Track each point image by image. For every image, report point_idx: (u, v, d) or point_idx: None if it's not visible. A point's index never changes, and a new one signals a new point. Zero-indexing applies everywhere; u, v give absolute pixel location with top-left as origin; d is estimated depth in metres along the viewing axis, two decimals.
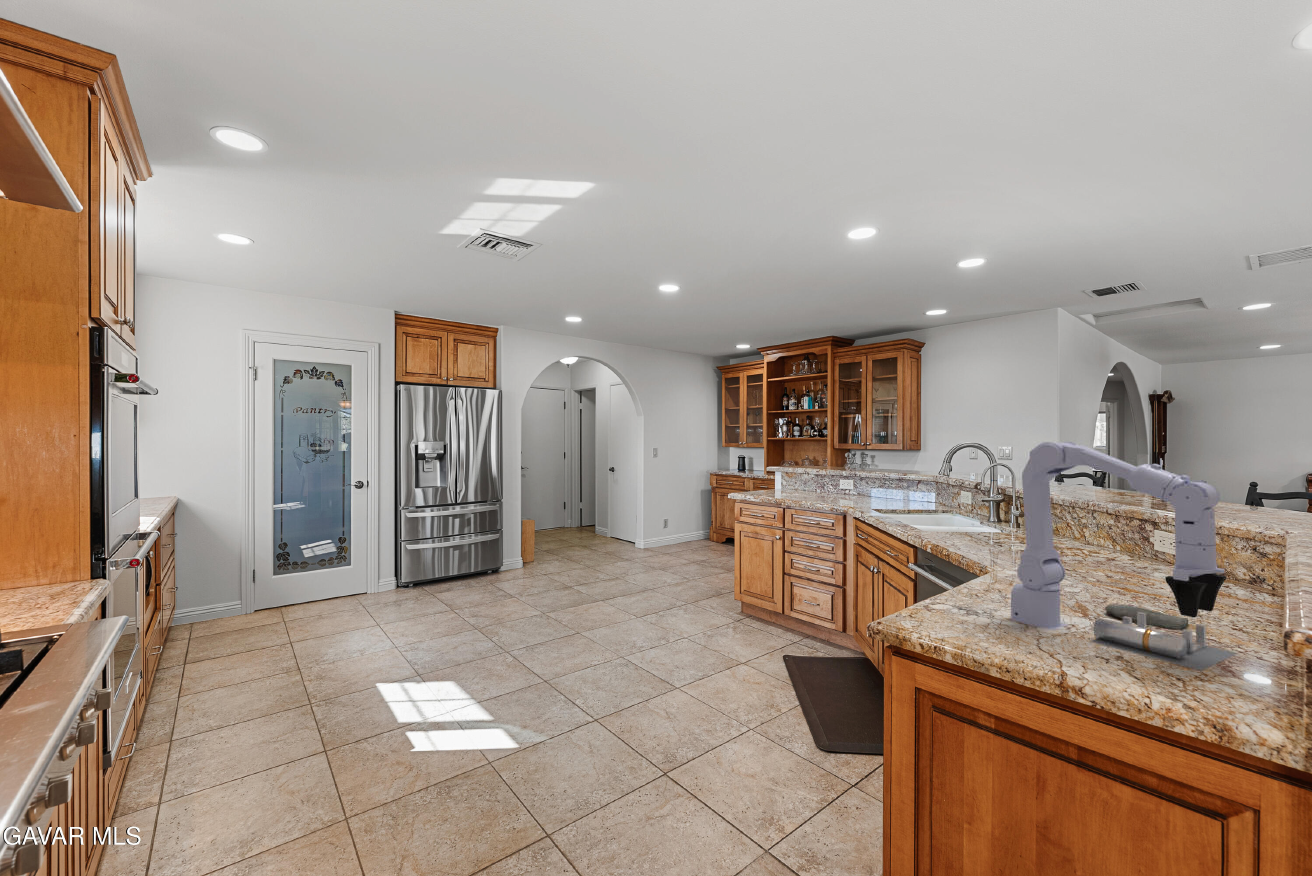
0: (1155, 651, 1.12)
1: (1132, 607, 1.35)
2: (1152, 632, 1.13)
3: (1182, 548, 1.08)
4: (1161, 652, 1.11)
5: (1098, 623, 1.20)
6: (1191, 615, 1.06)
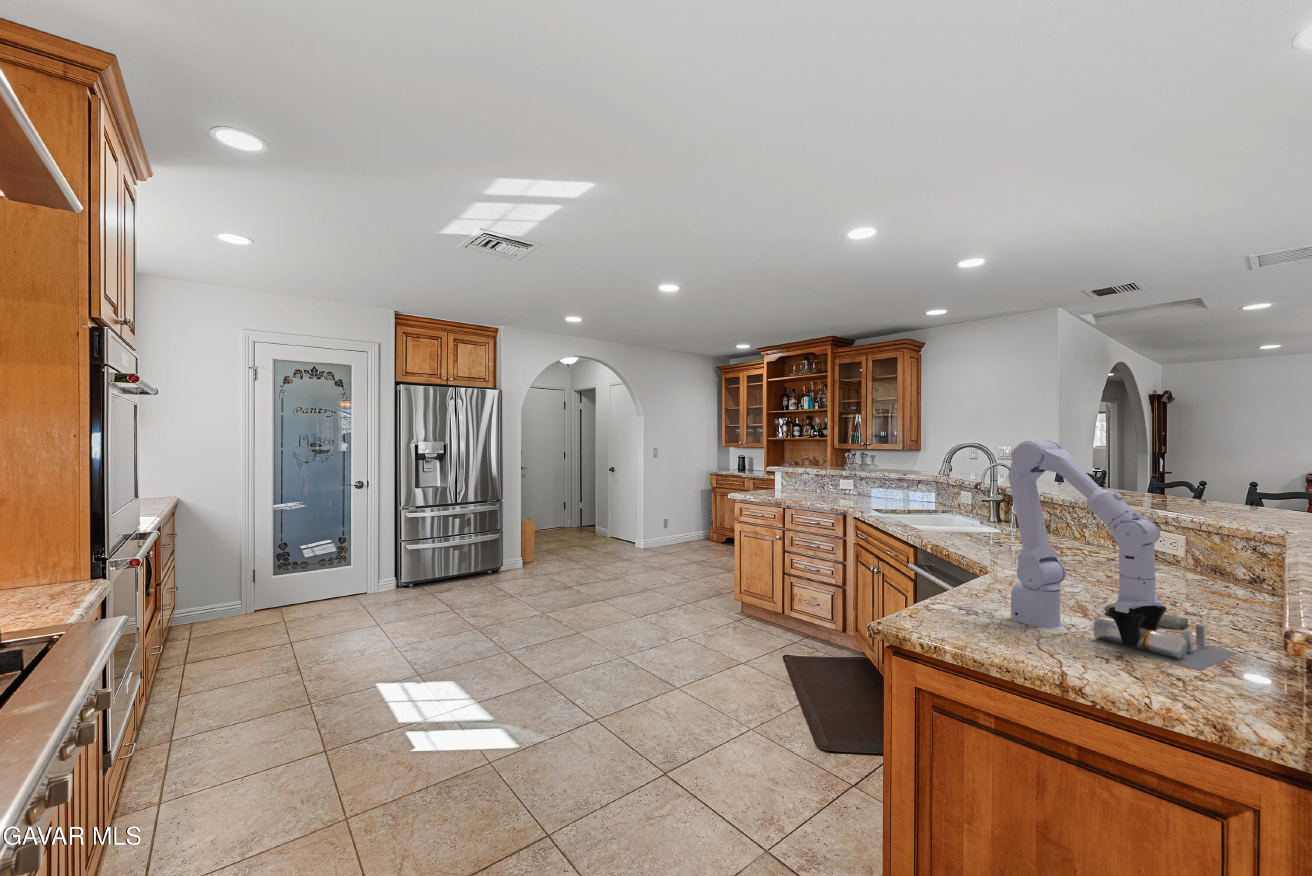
0: (1155, 651, 1.12)
1: None
2: (1152, 632, 1.13)
3: (1124, 581, 1.15)
4: (1161, 652, 1.11)
5: (1098, 623, 1.20)
6: (1132, 644, 1.13)
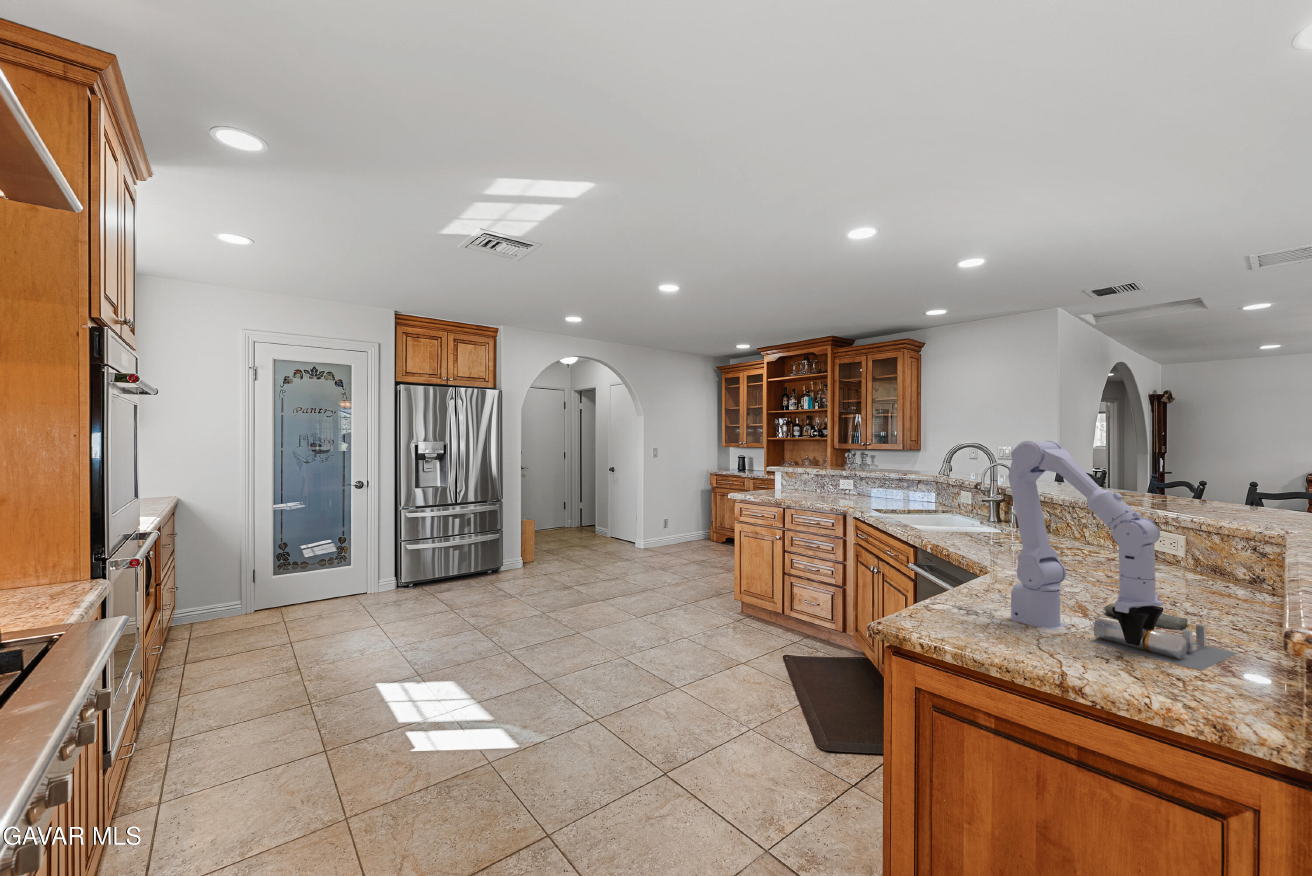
0: (1155, 651, 1.12)
1: None
2: (1152, 632, 1.13)
3: (1124, 581, 1.15)
4: (1161, 652, 1.11)
5: (1098, 623, 1.20)
6: (1135, 643, 1.14)
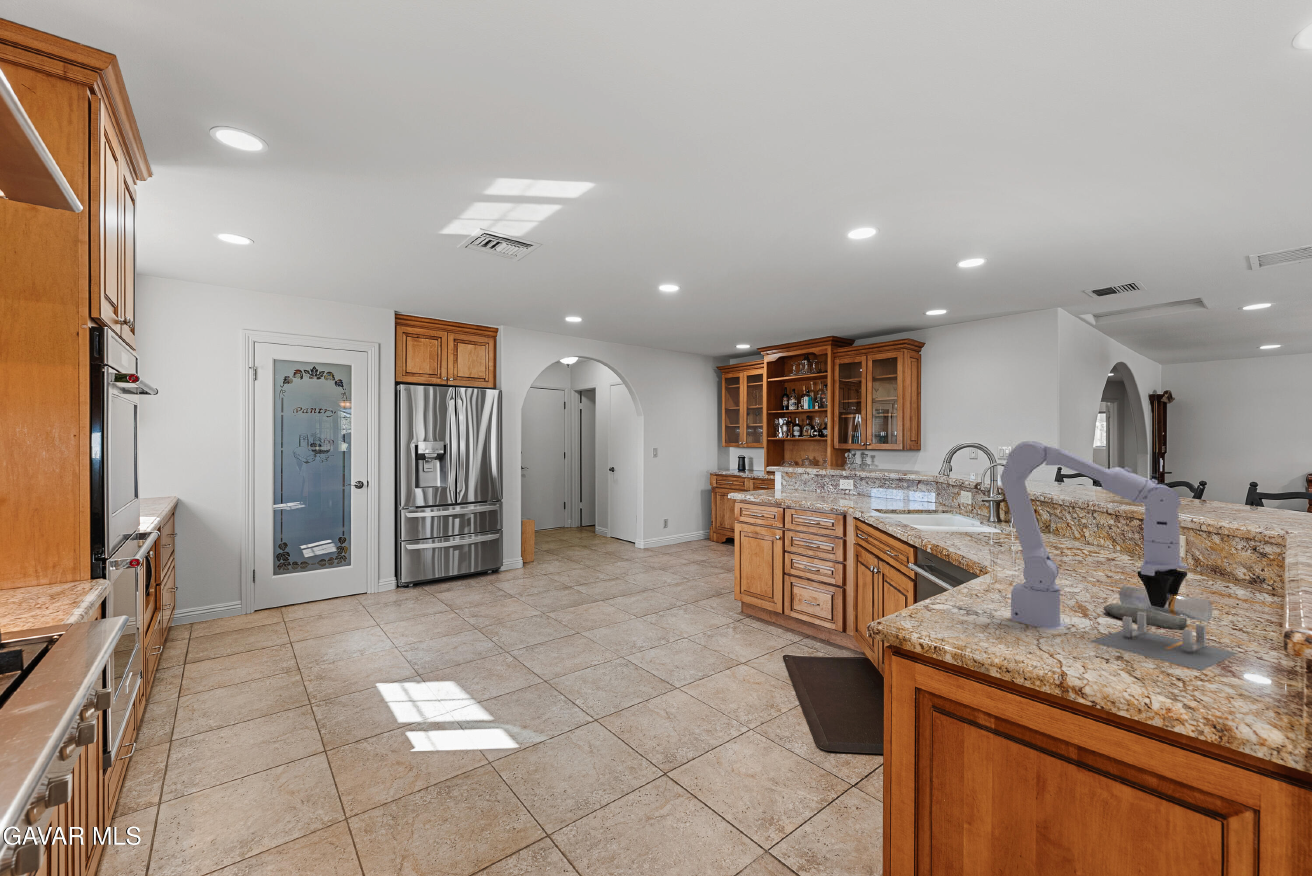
0: (1181, 614, 1.15)
1: None
2: (1178, 596, 1.16)
3: (1150, 546, 1.19)
4: (1187, 615, 1.14)
5: (1124, 590, 1.24)
6: (1160, 606, 1.17)
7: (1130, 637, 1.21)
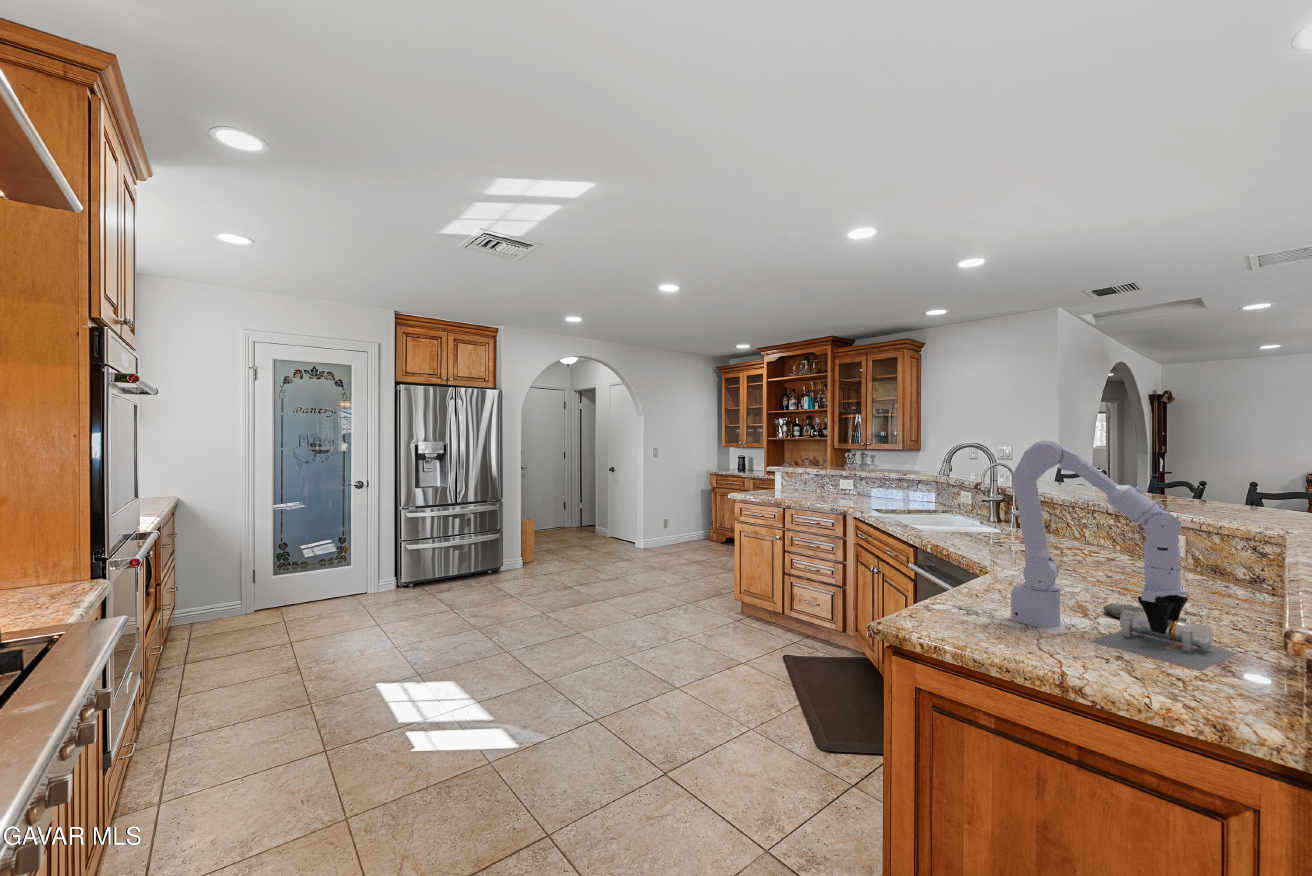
0: (1181, 641, 1.15)
1: (1130, 606, 1.35)
2: (1179, 622, 1.16)
3: (1150, 571, 1.19)
4: None
5: (1125, 614, 1.23)
6: (1160, 632, 1.17)
7: (1130, 637, 1.21)
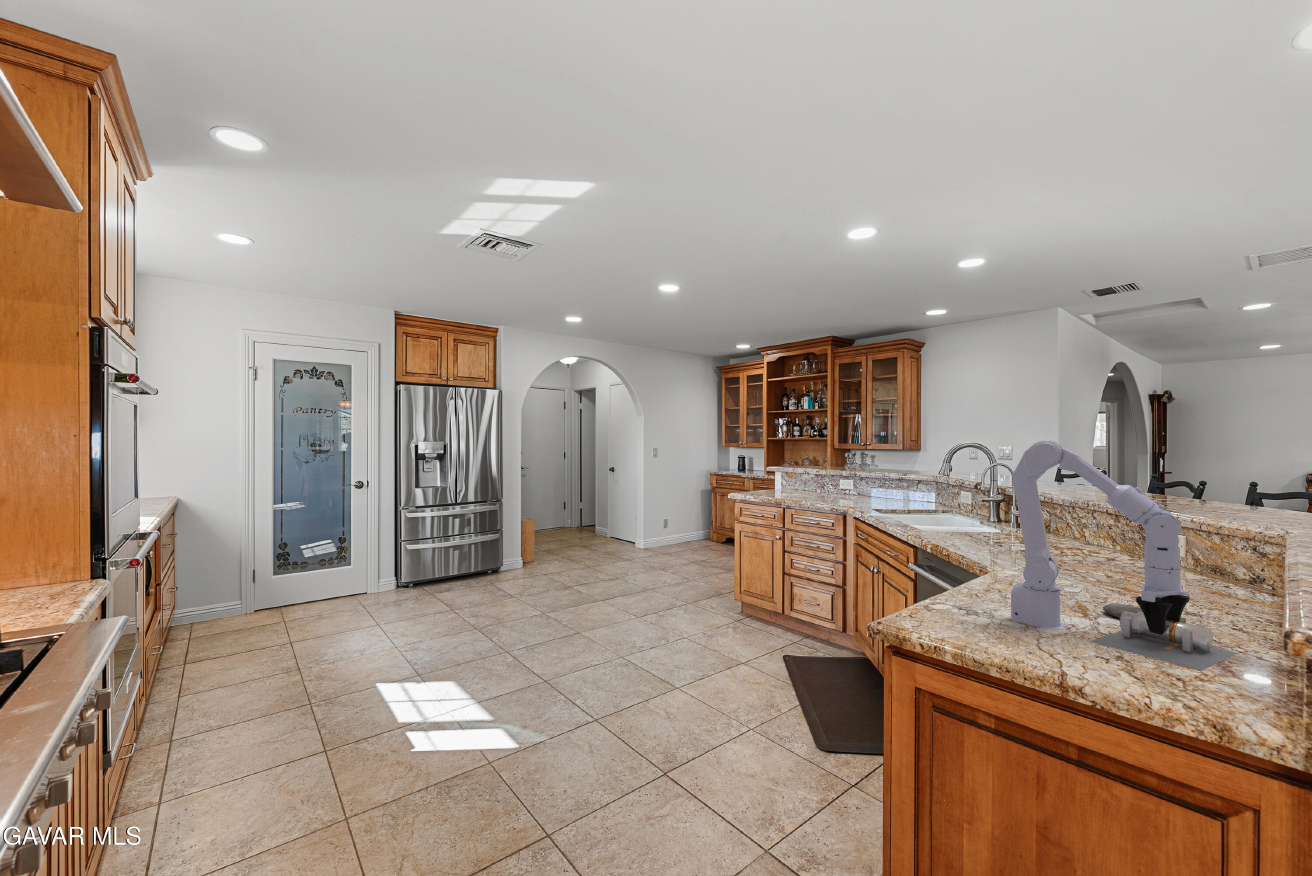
0: (1181, 642, 1.15)
1: (1129, 606, 1.36)
2: (1179, 624, 1.16)
3: (1150, 571, 1.19)
4: None
5: (1125, 615, 1.23)
6: (1158, 632, 1.16)
7: (1130, 637, 1.21)
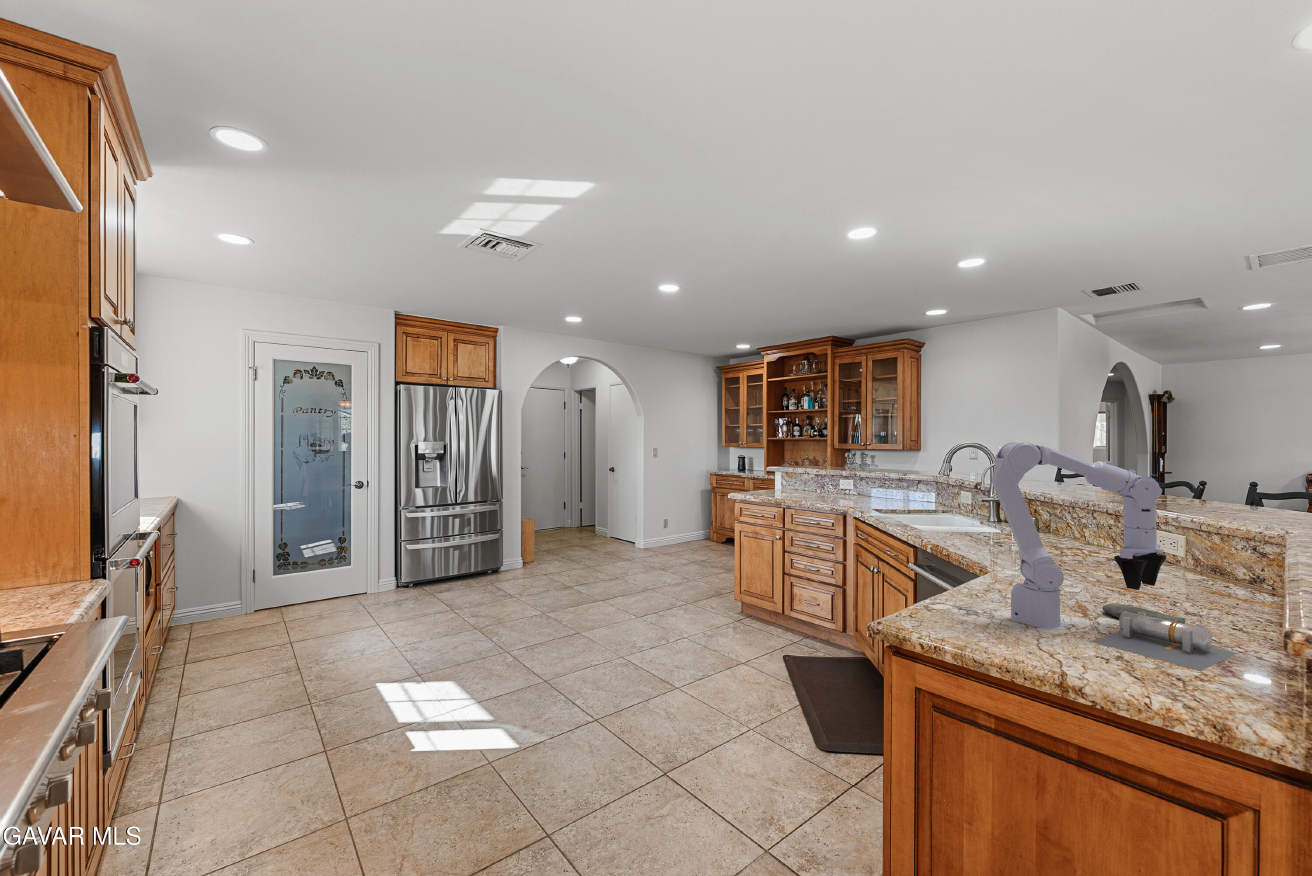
0: (1181, 643, 1.15)
1: (1129, 606, 1.36)
2: (1177, 625, 1.16)
3: (1128, 531, 1.27)
4: None
5: None
6: (1135, 588, 1.25)
7: (1130, 637, 1.21)
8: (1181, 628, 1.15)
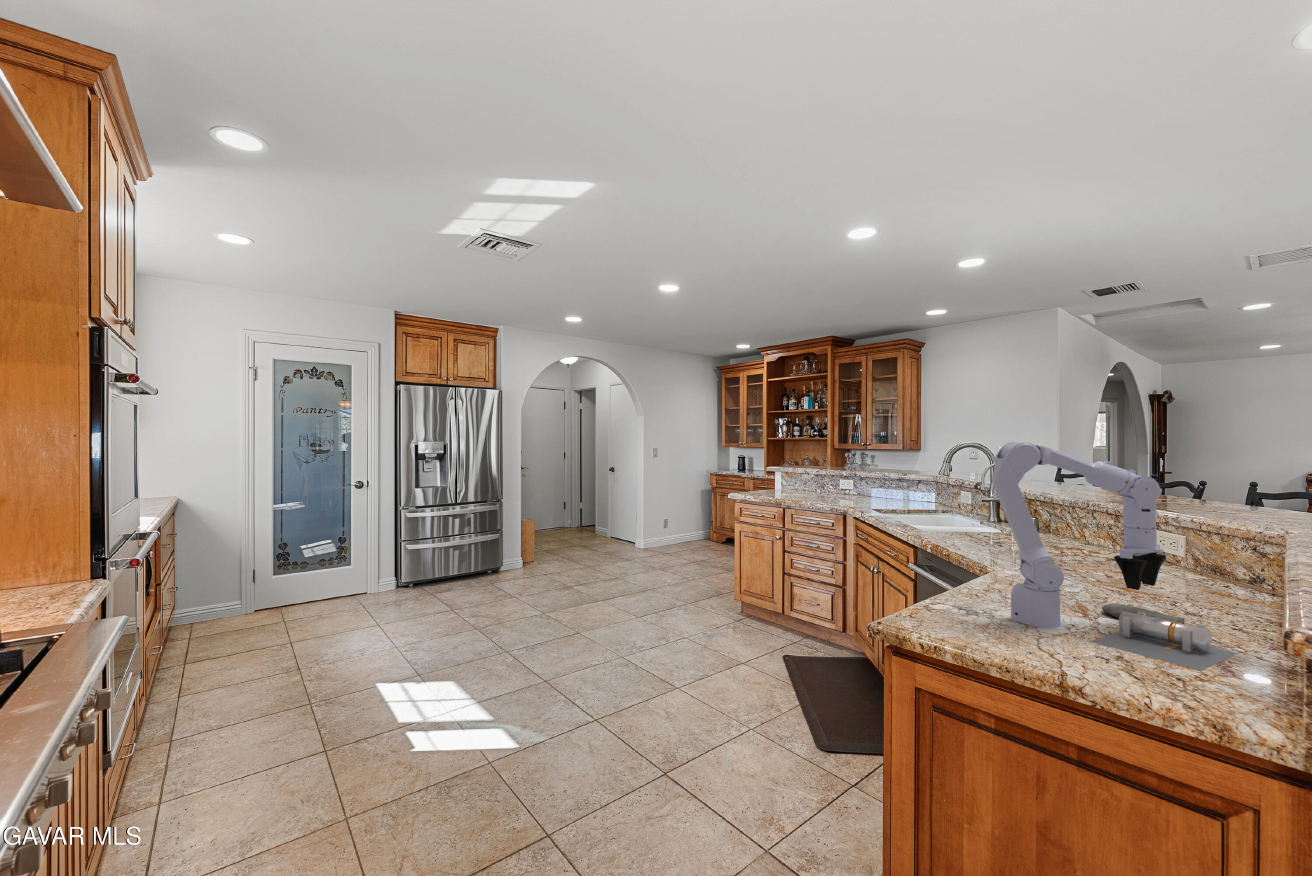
0: (1181, 644, 1.15)
1: (1128, 606, 1.36)
2: (1176, 626, 1.15)
3: (1128, 531, 1.27)
4: None
5: None
6: (1135, 588, 1.25)
7: (1130, 637, 1.21)
8: (1180, 629, 1.15)
